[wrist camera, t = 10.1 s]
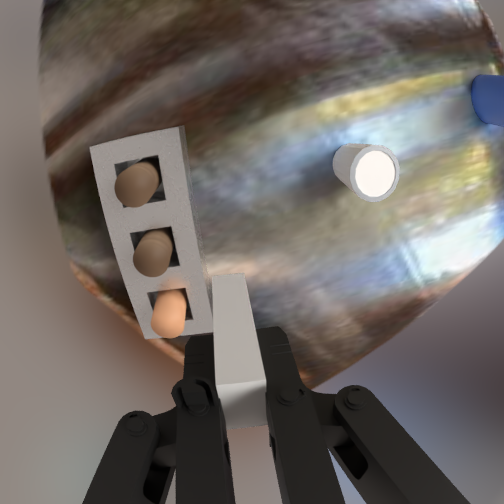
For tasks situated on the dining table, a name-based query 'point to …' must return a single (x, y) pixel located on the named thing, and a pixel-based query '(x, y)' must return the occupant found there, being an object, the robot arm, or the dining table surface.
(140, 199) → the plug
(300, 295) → the dining table surface
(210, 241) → the dining table surface
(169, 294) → the plug terracotta
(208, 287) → the jig
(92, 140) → the dining table surface
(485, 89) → the water bottle
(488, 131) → the dining table surface
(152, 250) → the plug mid
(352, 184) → the white cup
